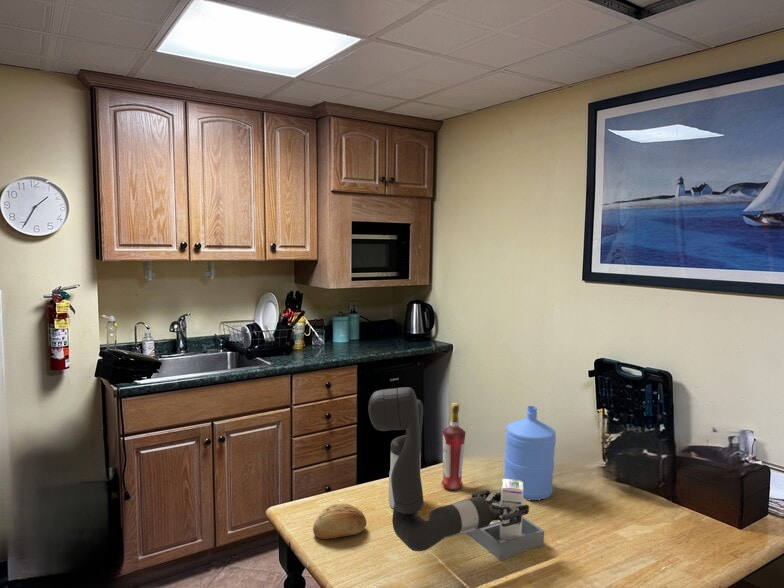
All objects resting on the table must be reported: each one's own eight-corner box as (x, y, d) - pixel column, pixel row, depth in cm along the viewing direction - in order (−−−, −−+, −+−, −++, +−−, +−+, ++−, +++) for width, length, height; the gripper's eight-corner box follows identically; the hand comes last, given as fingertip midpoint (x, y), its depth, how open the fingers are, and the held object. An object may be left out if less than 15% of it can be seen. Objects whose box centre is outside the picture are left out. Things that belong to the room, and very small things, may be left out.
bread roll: (371, 539, 151) (371, 511, 150) (316, 548, 146) (317, 519, 145) (361, 521, 160) (362, 495, 159) (310, 529, 155) (310, 502, 154)
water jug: (558, 502, 173) (563, 416, 170) (508, 501, 173) (512, 415, 170) (545, 480, 189) (550, 400, 185) (499, 478, 189) (503, 399, 185)
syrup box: (521, 542, 145) (524, 489, 143) (498, 539, 146) (501, 486, 144) (520, 531, 150) (524, 480, 149) (498, 528, 152) (501, 477, 150)
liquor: (438, 481, 185) (441, 401, 182) (460, 481, 186) (463, 400, 183) (443, 492, 178) (446, 408, 175) (465, 491, 179) (469, 408, 175)
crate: (453, 526, 158) (454, 509, 158) (494, 513, 166) (495, 498, 165) (499, 563, 141) (500, 545, 140) (543, 548, 148) (544, 530, 148)
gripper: (486, 514, 134) (537, 500, 142) (452, 489, 146) (500, 477, 154) (485, 543, 134) (535, 527, 142) (451, 516, 147) (499, 503, 155)
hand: (517, 501), depth 148 cm, fingers closed on syrup box, 8 cm apart
